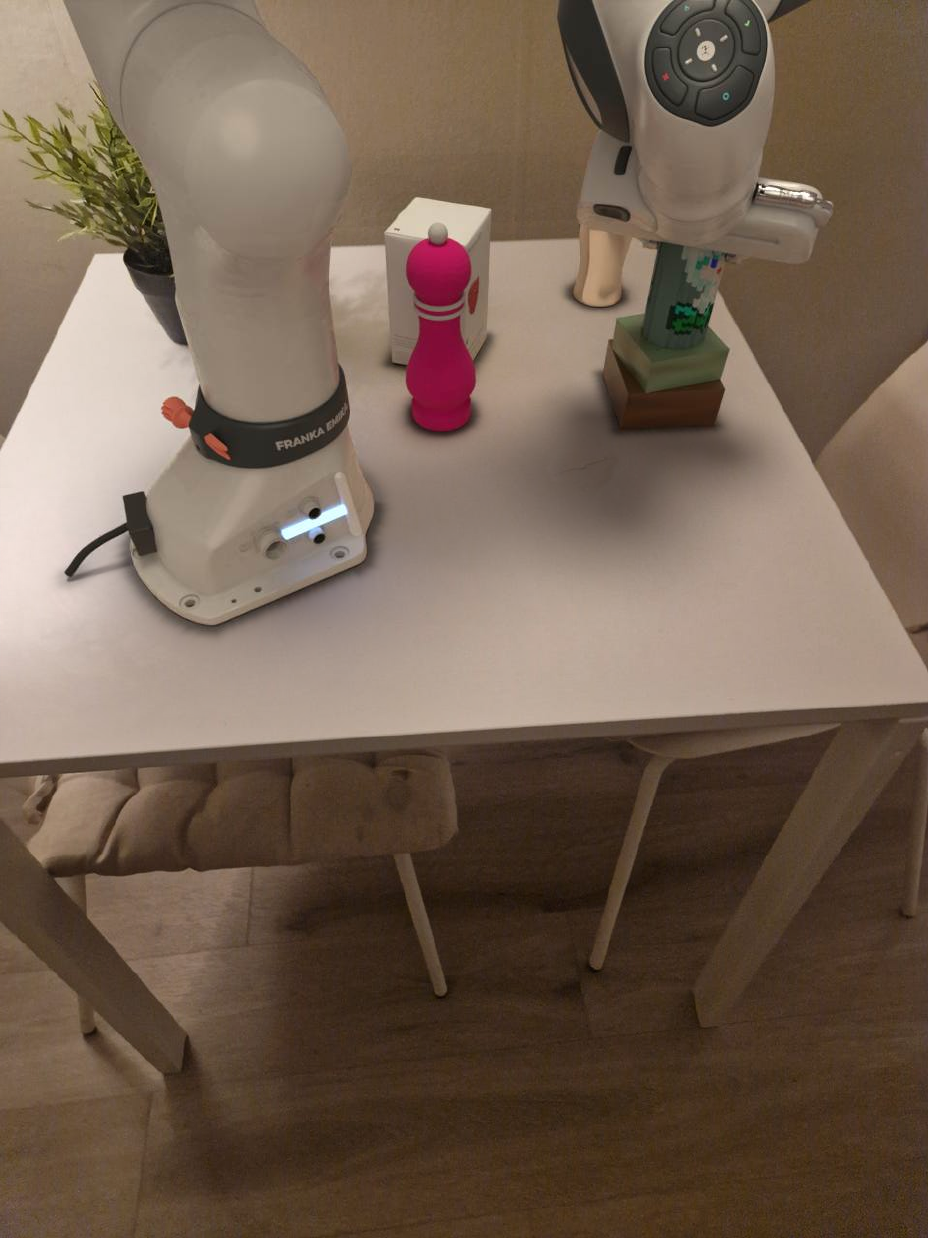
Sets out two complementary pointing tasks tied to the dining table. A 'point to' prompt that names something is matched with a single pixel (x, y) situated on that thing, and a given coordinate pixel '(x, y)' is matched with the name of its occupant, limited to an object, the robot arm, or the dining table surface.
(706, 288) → the can
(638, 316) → the block stack
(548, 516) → the dining table surface
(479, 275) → the white product box
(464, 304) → the pepper mill
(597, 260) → the beer glass
